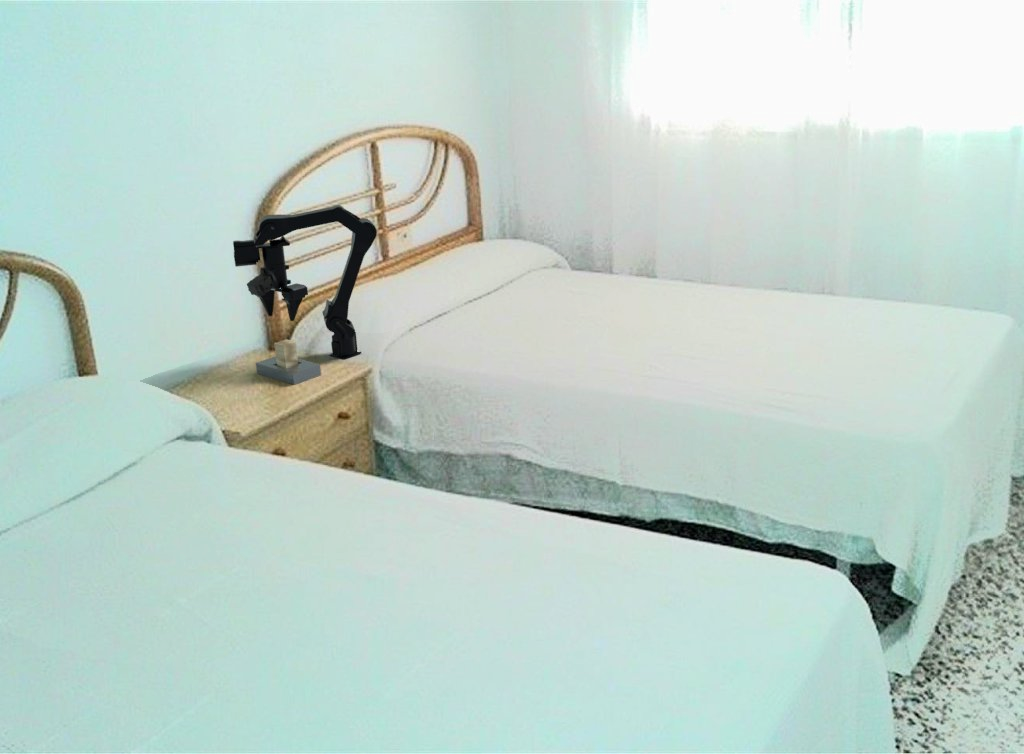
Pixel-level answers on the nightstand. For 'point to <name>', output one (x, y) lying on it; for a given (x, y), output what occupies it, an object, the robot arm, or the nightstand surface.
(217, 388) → the nightstand surface
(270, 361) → the grey slotted block
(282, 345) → the ash peg
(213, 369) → the nightstand surface
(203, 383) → the nightstand surface
